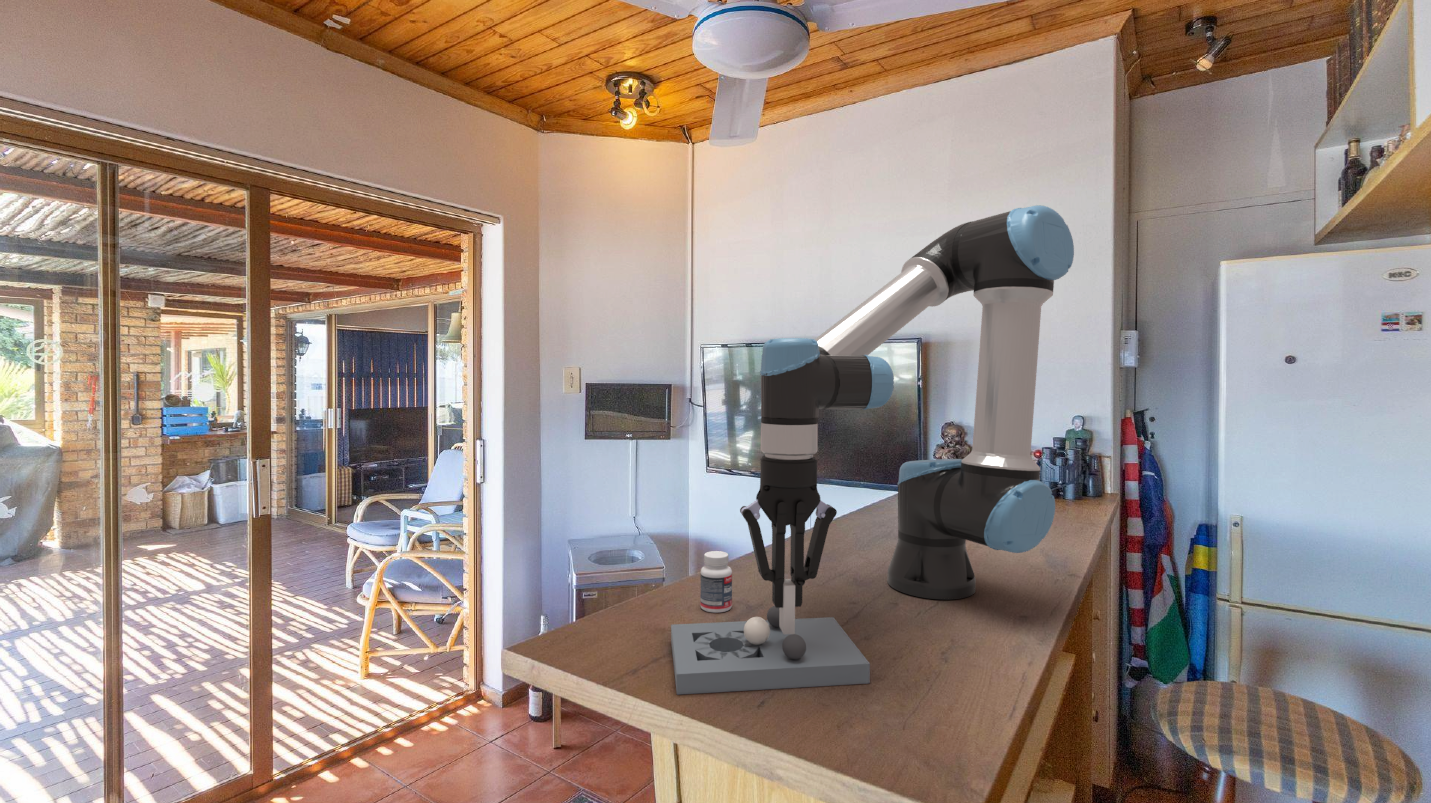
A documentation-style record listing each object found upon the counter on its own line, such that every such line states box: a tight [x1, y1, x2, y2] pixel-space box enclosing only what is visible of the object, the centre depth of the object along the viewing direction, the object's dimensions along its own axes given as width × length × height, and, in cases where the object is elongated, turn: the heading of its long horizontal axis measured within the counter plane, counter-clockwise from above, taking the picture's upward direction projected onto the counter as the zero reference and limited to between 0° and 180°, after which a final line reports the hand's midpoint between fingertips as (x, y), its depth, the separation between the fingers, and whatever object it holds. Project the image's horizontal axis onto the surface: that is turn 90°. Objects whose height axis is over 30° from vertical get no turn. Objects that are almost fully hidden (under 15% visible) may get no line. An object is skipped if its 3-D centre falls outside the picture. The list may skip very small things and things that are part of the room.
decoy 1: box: [766, 605, 779, 628], centre depth 89 cm, size 3×3×3 cm
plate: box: [670, 616, 871, 695], centre depth 84 cm, size 24×15×2 cm, turn 97°
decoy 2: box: [782, 634, 806, 660], centre depth 79 cm, size 3×3×3 cm
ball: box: [744, 616, 770, 645], centre depth 83 cm, size 4×4×4 cm
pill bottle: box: [699, 550, 733, 614], centre depth 103 cm, size 5×5×9 cm
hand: (786, 629), depth 84 cm, fingers closed
